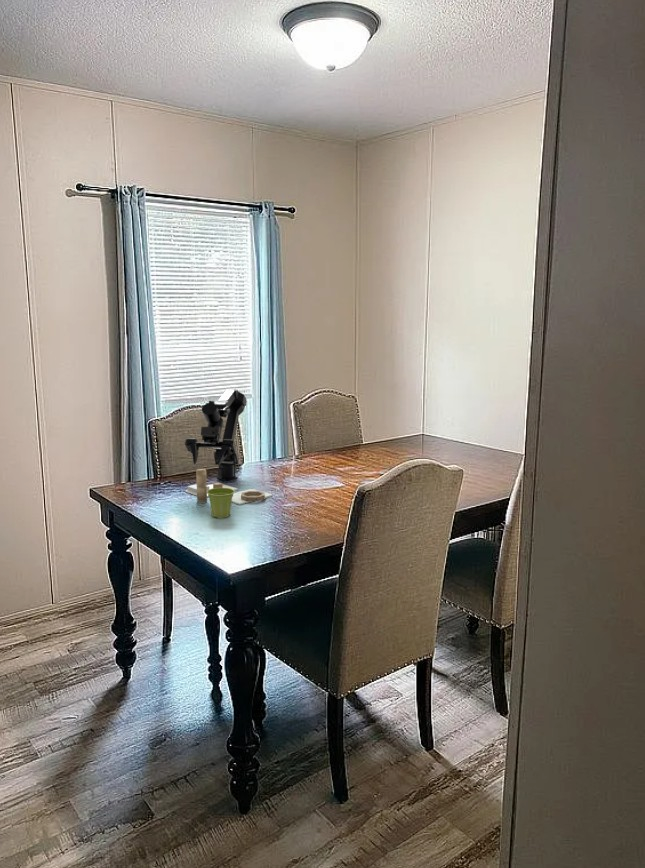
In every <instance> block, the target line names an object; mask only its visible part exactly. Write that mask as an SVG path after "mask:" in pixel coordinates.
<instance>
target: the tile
mask: <svg viewBox="0 0 645 868" xmlns="http://www.w3.org/2000/svg"><path fill="white" fill-rule="evenodd" d="M213 488H230V489H233V490H234V491H235V490H236V491H238V490H239V489H238V488H237V487H233V486H231V485H227V484H224V483H222V482H214V483H211V484H208V485H207V491H208V490H209V489H213ZM185 493H188V494H190V493H191V495H194V496H196V497H197V483H195V484H190V485H187V489H186V490H185ZM207 498H209V497H208V494H207Z"/></svg>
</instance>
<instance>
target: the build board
mask: <svg viewBox="0 0 645 868" xmlns="http://www.w3.org/2000/svg"><path fill="white" fill-rule="evenodd" d="M272 497H273V494H271V493H268V492H266V491H261V490H258V489H254V488H249V489H246V490H241V491H237V492H234V494H233V497H232V502H231V504H235V505H239V506H242V505H245V503H246V504H249V503H253V502H259V501H263V500H265V499H266V498H272ZM241 504H242V505H241Z"/></svg>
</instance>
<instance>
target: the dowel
mask: <svg viewBox="0 0 645 868" xmlns="http://www.w3.org/2000/svg"><path fill="white" fill-rule="evenodd" d="M195 471H196V472H195V473H196V474H195V476H196V484H197V496H196V501H197V502H196V503H198V504H205V503H207V502H208V497H207V484H208V483H207V469H206V468H198V469H197V468H196V470H195Z"/></svg>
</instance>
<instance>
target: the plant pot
mask: <svg viewBox="0 0 645 868" xmlns="http://www.w3.org/2000/svg"><path fill="white" fill-rule="evenodd" d="M234 493H236V492H235V491H234V490H233V489H230V488H213V489H209V490H208V491H207V494H208V497H207V498H209V504H210V511H211V516H212V517H213V518H218V519H221V518H222V519H223V518H227V517H229V516H231V510H232V497H233V494H234Z"/></svg>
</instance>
